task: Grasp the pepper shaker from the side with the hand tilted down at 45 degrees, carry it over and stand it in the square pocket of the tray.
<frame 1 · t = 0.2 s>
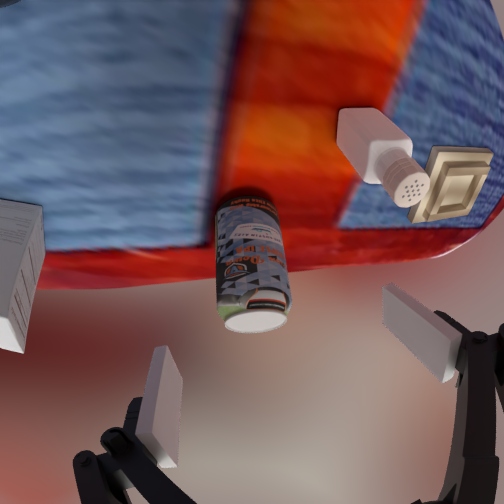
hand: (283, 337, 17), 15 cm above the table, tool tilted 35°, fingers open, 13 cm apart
tray: (449, 181, 31), on the table
supplement box: (18, 224, 24), on the table
pepper shaker: (354, 123, 24), on the table
beverage can: (239, 213, 30), on the table
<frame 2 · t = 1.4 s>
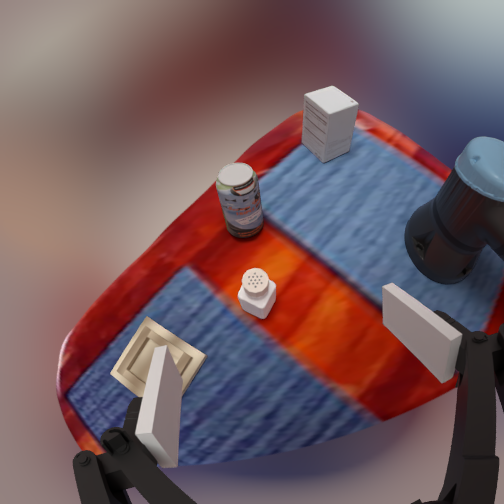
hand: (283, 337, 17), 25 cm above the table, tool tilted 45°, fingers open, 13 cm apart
tray: (157, 366, 40), on the table
supplement box: (325, 147, 58), on the table
pepper shaker: (259, 304, 44), on the table
beverage can: (244, 224, 51), on the table
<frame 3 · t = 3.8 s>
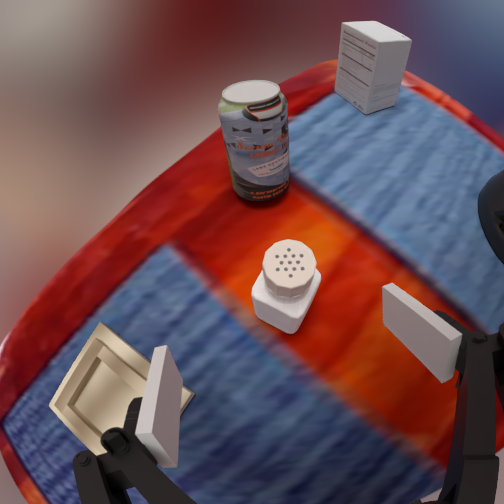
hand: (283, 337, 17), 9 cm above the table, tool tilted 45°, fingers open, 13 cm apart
tray: (116, 403, 23), on the table
supplement box: (364, 99, 40), on the table
pepper shaker: (283, 308, 26), on the table
beverage can: (259, 184, 33), on the table
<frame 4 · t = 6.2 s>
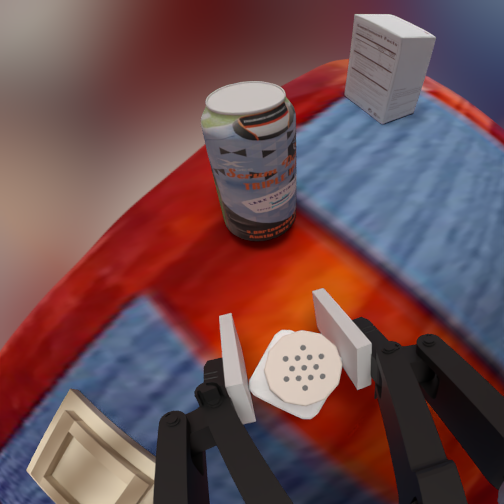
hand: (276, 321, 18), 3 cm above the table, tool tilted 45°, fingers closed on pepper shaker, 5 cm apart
tray: (96, 477, 16), on the table
supplement box: (378, 105, 34), on the table
pepper shaker: (289, 380, 20), on the table, touching gripper
beverage can: (258, 214, 26), on the table
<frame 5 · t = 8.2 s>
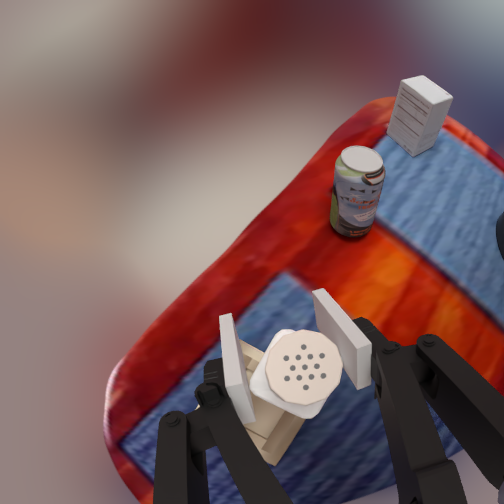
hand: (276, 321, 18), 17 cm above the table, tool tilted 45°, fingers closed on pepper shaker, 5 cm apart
tray: (257, 403, 31), on the table
supplement box: (409, 140, 48), on the table
pepper shaker: (289, 380, 20), point 13 cm above the table, touching gripper
beverage can: (347, 220, 41), on the table
when the fingers open (6 cm above the table, at t = 10.6 s): pepper shaker drops 1 cm, resting on tray.
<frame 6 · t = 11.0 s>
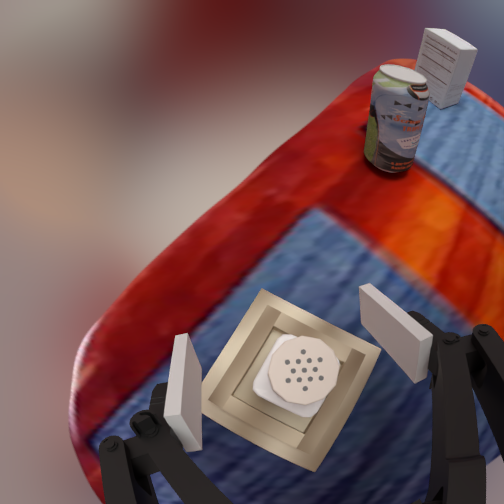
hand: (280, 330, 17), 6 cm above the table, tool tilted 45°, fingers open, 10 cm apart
tray: (287, 381, 22), on the table
supplement box: (434, 95, 40), on the table
pepper shaker: (290, 381, 21), point 1 cm above the table, touching tray
beverage can: (382, 159, 32), on the table
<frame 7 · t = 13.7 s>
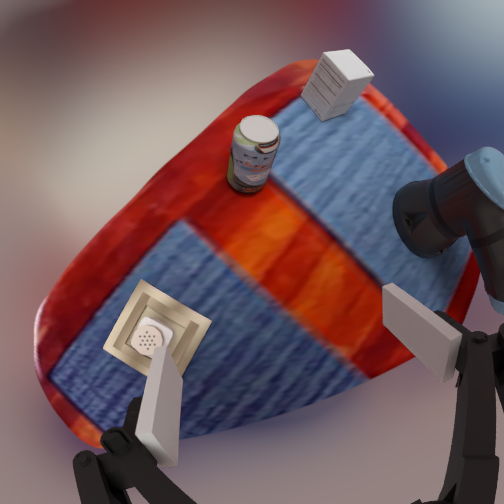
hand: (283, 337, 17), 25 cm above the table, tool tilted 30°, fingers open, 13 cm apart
tray: (156, 335, 38), on the table
supplement box: (322, 105, 54), on the table
pepper shaker: (157, 335, 37), point 1 cm above the table, touching tray
beverage can: (244, 176, 46), on the table
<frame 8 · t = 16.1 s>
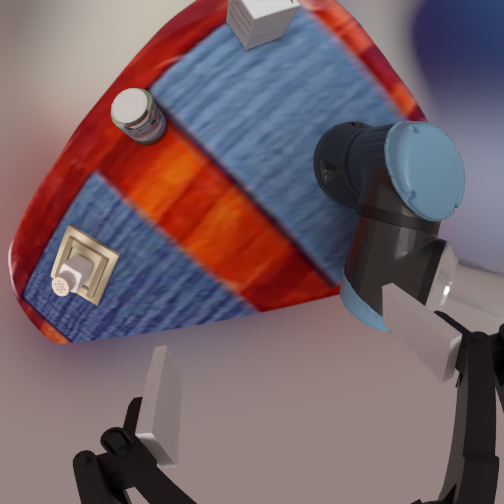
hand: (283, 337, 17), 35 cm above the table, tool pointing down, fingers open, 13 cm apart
tray: (84, 264, 48), on the table
supplement box: (253, 29, 41), on the table
pepper shaker: (83, 266, 47), point 1 cm above the table, touching tray
beverage can: (148, 124, 43), on the table
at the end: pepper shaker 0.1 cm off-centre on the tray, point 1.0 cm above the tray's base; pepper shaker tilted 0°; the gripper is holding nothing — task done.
